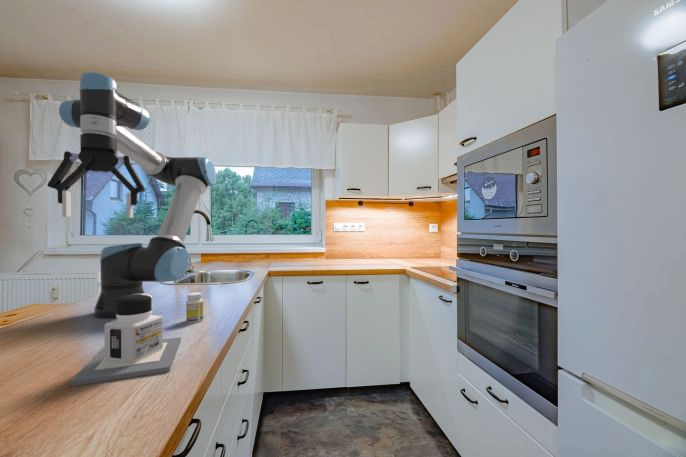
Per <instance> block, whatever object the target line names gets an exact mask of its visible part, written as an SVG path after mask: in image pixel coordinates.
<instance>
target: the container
mask: <svg viewBox="0 0 686 457" xmlns="http://www.w3.org/2000/svg"><path fill="white" fill-rule="evenodd" d="M163 317H164V316H162V315H156V314H155V315H154V314H153V296H152V295H151V294H148V293H145V294H131V295H125V296H122V297H121V298H119V299H118V300H117V301H116V317H115V318H116V319H114V320H111V321H110V322H109V321H108V322H106V323H105V324H104V326H103V327H104V346H105V360H112V361H122V362H132V363H135V362H137V361H139V360H141V359H143V358H145V357H147V356H149V355H151V354H153V353H155V352H157V351H159V350H161V349H162V348H163V339H164V337H163V336H164V334H163V333H164V330H163V329H164V328H163V322H164V321H163V320H164V318H163Z"/></svg>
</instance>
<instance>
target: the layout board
mask: <svg viewBox="0 0 686 457" xmlns="http://www.w3.org/2000/svg"><path fill="white" fill-rule="evenodd" d="M180 343H181V336H180V337H171V338H163V348H162V349H161V350H159V351H157V352H155V353H153V354H151V355H149V356H147V357H145V358H143V359H141V360H139V361H137V362H135V363H132V362H122V361H112V360H105V345H104V346H103V347H102V348H101V349H100V350H99V351H98V352H97V353H96V355H94V356H93V357H92V358H91V360H89V362H87V364H86V365H84V367H82V369H80V371H79V372H78V373H77V374H76V375H75V376H74V377H73V378H71V380H70V387H76V386H81V385H88V384H95V383H101V382H110V381H114V380H122V379H128V378H135V377H142V376H149V375H154V374H156V375H157V374H163V373H168V372H171V369H172V366H173V363H174V360H175V358H176V355H177V352H178V350H179V347H180V345H181V344H180Z"/></svg>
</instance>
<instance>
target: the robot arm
mask: <svg viewBox="0 0 686 457" xmlns="http://www.w3.org/2000/svg"><path fill="white" fill-rule="evenodd" d="M79 83H80V84H79V97H80V98H79V99H72V100H64V101H62V102H61V103H60V105H59V108H58V112H59V114H58V115H59V116H60V118H61V120H62V122H63V123H64V124H65V125H67V126H69V127H72V128H77V129H80V132H81V134H80V136H79V137H80V139H79V140H80V141H79V142H80V146H79V147H80V148H79V149H80V152H79V153H74V152H70V151H64V153H63V159H62V161H61V163H60V164H59V165H58V167H57V169H56V170H55V172H54V173H53V175H52V177H51V178H50V180H49V181H48V183H47V187H48V188H50V189H55V190H56V191H57V203H58V204H62V208H61V209H62V212H61V214H62V217H63V218H71V217H72V192H71V191H69V189H70V188H71V187H72V186H73V185H75V184H76V182H78V181H79V180H80V179H81V178H82V177H83V176H84V175H86V174H87V173H89V172H90V171H91V172H94V173H98V172H102V173H108V172H111V173H112V174H113V175H114V176H115V177H116V178H117V179H118V181H120V183H122V184H123V186H124V187H125V188H126V189H128V190H129V192H126V217H127V218H134V206H137V205H138V194H139V193H142V192H145V191H146V188H145V186H144V184H143V182H142V181H141V179H140V177H139V174H137V172H136V170H135V168H134V167H133V163H132V162H134V163H135V164H137V165H138V166H140V167H141V169H142V172H144V173H145V174H147V175H148V176H150V177H151V178H153V179H155V180H157V181H159V182H162V183H164V184H165V185H166V184H168V185H169V186H175V187H176V189H175V192H174V194H173V197H172V199H171V202H170V204H169V207H168V209H167V210H166V214H165V216H164V219H163V221H162V224H161V226H160V228H159V231H158V233H157V235H156V236H154V237H152V238H151V239H150V240H149V242H148V244H147V246H146V247H145V246H143V243H141V242H137V243H125V244H115V245H110V246H105V247H103V248H102V250H101V251H100V252H101V253H100V259H99V260H100V293H99V295H98V299H97V301H96V304H95V306H94V314H93V316H94V317H95V318H100V319H101V318H103V319H104V318H108V319H109V318H116V301H117V300H118V299H119V298H121V297H122V296H125V295H131V294H146V293H145V291H144V288H143V287H144V286H143V282H147V283H148V282H149V283H150V282H151V283H155V282H156V283H158V282H159V283H167V282H175V281H178V280H180V279H181V278H183V276H184V275H185V274H186V272H187V270H188V268H189V264H190V260H189V259H190V255H189V252H188V250H187V247H186V244H185V243H184V242H185V239H186V236H187V234H188V231H189V227H190V224H191V222H192V219H193V217H194V214H195V210H196V208H197V206H198V203H199V200H200V199H199V198H200V197H201V195H203V194H205V193H206V191H207V189H208V186H209V187H211V186H214V185H215V184H216V181H217V172H216V168H215V165H214V163H213V161H212V160H211V159H210V158H208V157H204V156H197V157H196V156H195V157H193V156H191V157H188V156H186V157H183V156H181V157H177V156H176V157H172V156H171V157H170V156H167V155H164V154H163V153H161V152H159V151H155V150H153V149H152V148H151V147H149V145H147V144H146V143H145V142H143V140H141V139H139V138H138V137H137V136H136V135H134V134H133V133H132V132H130V131H129V130H128V129H130V130H134V131H141V130H144V129H146V128H147V127H148V126H149V124H150V113H149V112H148V110H147V109H146V108H144V107H143V106H142V105H141V104H139V103H138V102H135V101H133V100H131V99H130V98H128V97H126V96H124V95H122V94H121V93H120V92H118V88H117V82H116V81H115V79H114V78H112V77H110V76H108V75H106V74H102V73H99V72H92V71H91V72H84V73H82V74H81V76H80V82H79ZM127 128H128V129H127ZM118 152H119V153H120V154H122V155H123V156H118ZM77 160H80V161H81V163H80V164H79V165H78V166H77V167H76V169H74V171H73V172H72V173H70V175H68V173H69V172H70V170H71V168H72V167H73V164H74V163H75V162H76V161H77ZM119 162H121V164H122V165H123V166H124V167H125V169H126V170H127V172H128V173H129V175H130V178H131V179H132V180H133V183H134V184H135V186H136V187H135V186H134V185H133V184H132V183H131V182H130V181H129V180H128V179H127V177H126V176H124V175H123V174H122V173H121V171H120V170H119V169H117V165H118V163H119ZM67 175H68V176H67ZM65 177H66V178H65Z"/></svg>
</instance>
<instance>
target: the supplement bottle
mask: <svg viewBox="0 0 686 457" xmlns="http://www.w3.org/2000/svg"><path fill="white" fill-rule="evenodd" d="M185 304H186V306H185V307H186V311H185V312H186V316H185V317H186V322H187V323H191V324H192V323H193V324H194V323H198V322H202V321H203V320H204V299H203V294H202V292H200V291H199V292H190V293H187V299H186V303H185Z"/></svg>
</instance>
